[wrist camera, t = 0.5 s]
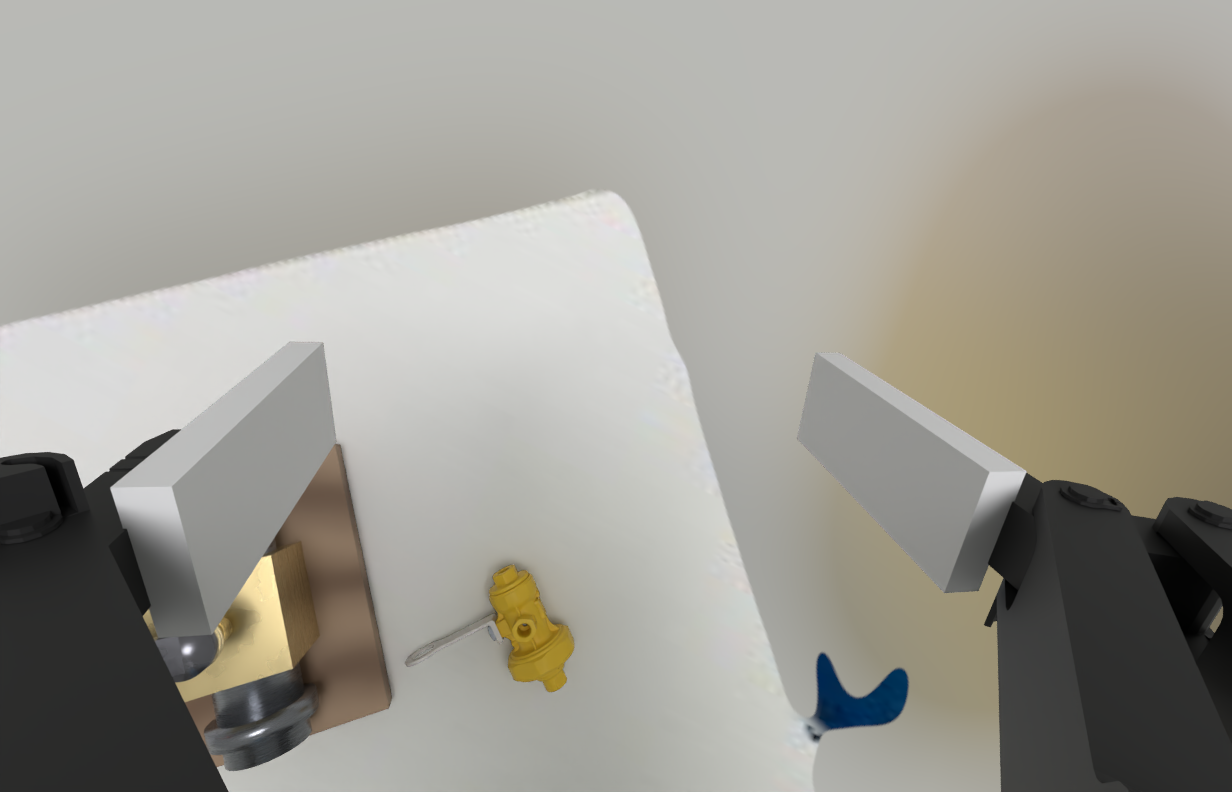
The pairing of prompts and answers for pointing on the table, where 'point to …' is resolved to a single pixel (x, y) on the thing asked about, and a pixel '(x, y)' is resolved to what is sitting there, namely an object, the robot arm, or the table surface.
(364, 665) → the valve plinth
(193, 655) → the valve lever
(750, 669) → the table surface
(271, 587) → the pipe valve
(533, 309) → the table surface
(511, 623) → the pressure relief valve
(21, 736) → the robot arm
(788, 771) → the table surface
